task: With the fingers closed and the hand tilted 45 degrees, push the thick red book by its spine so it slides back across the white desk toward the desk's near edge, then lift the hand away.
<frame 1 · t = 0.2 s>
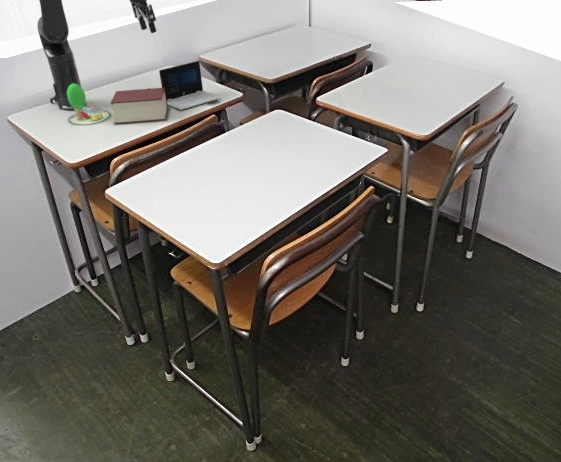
hand: (149, 30, 209), 24 cm above the table, tool pointing down, fingers open, 8 cm apart
train set: (89, 117, 197), on the table
laptop: (192, 102, 207), on the table
thick red book: (142, 115, 196), on the table
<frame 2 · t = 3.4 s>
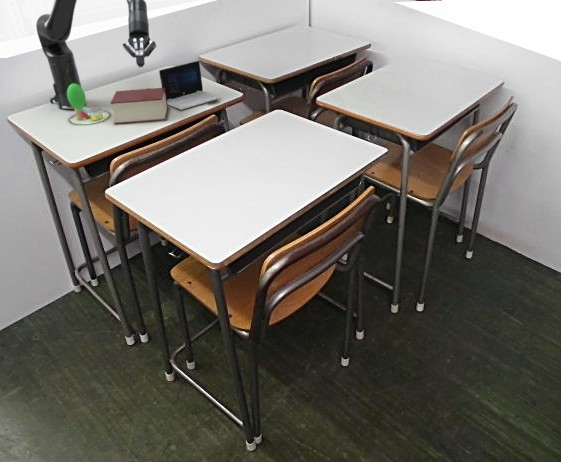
hand: (140, 66, 201), 14 cm above the table, tool tilted 45°, fingers closed
nothing on the table moved.
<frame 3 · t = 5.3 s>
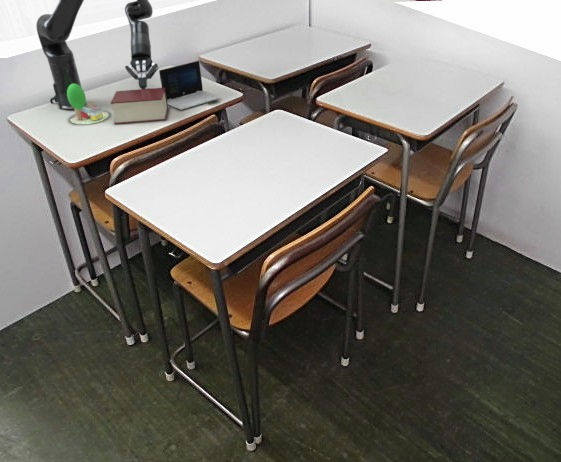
hand: (143, 88, 202), 7 cm above the table, tool tilted 45°, fingers closed
nothing on the table moved.
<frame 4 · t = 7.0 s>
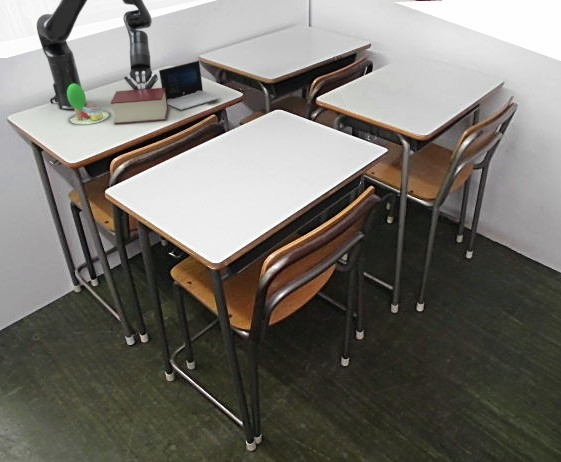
hand: (142, 99, 200), 4 cm above the table, tool tilted 45°, fingers closed
thick red book: (142, 116, 196), on the table, touching gripper
everything else where it was.
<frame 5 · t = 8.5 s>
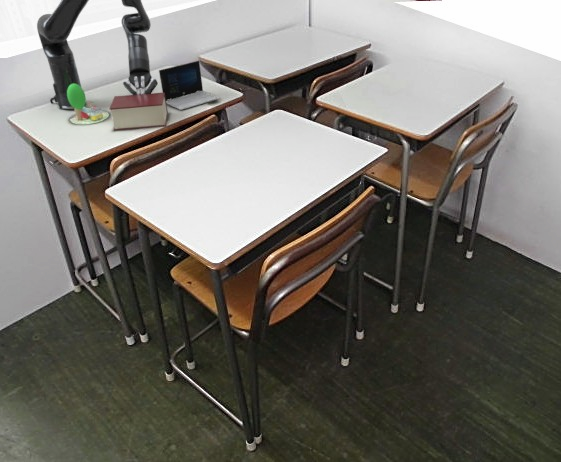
hand: (142, 105, 195), 4 cm above the table, tool tilted 45°, fingers closed
thick red book: (141, 121, 191), on the table, touching gripper
everything else where it was.
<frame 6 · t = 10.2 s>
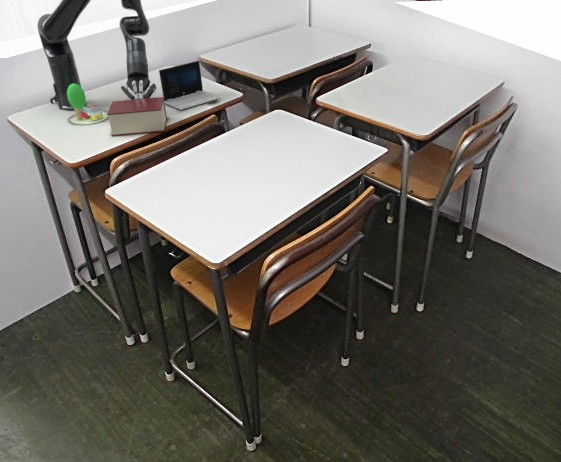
hand: (140, 110, 190), 4 cm above the table, tool tilted 45°, fingers closed
thick red book: (140, 127, 186), on the table, touching gripper
everything else where it was.
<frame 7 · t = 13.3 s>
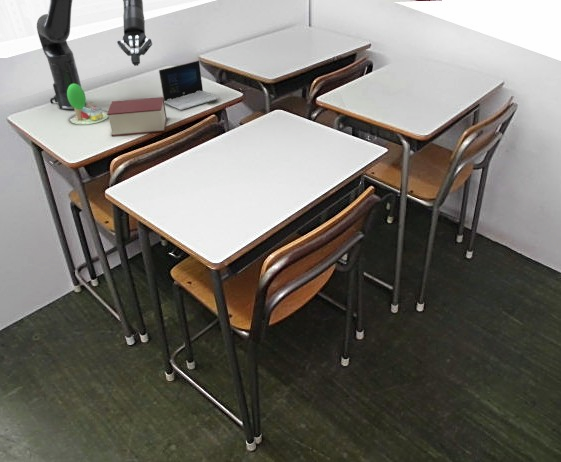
hand: (135, 64, 193), 17 cm above the table, tool tilted 45°, fingers closed
thick red book: (140, 127, 186), on the table
everything else where it was.
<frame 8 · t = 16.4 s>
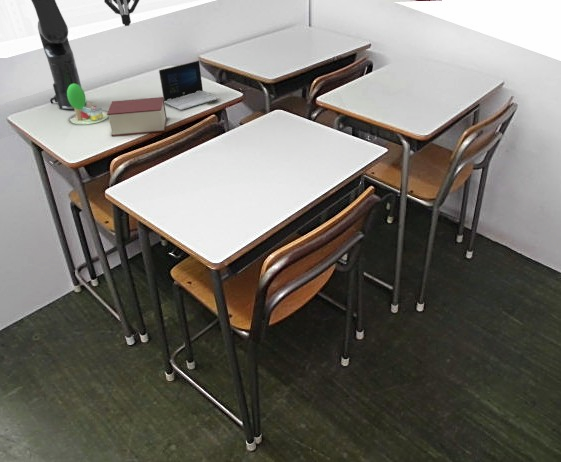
hand: (127, 25, 193), 29 cm above the table, tool pointing down, fingers closed
nothing on the table moved.
at the end: thick red book inside the target area (1.1 cm from its centre), on the table; thick red book tilted 0° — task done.
